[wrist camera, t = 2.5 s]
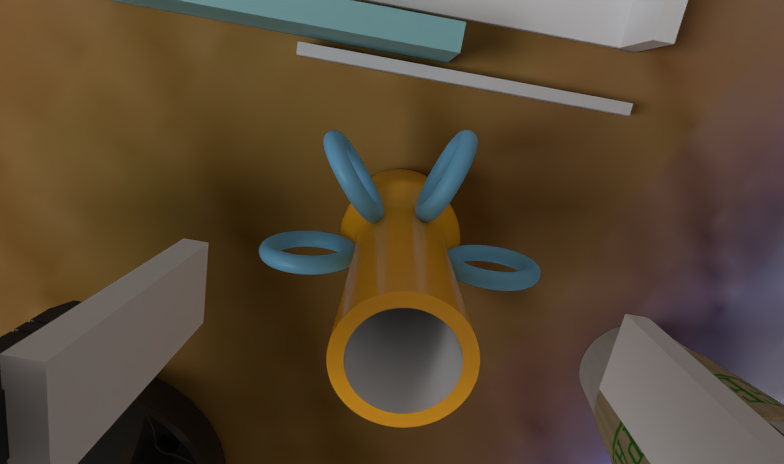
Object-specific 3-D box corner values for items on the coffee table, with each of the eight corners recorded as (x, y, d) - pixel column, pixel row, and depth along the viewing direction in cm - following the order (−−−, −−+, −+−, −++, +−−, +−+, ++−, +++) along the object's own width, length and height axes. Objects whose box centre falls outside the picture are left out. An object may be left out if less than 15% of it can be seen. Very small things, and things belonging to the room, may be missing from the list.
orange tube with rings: (265, 169, 26) (94, 257, 11) (430, 76, 24) (481, 37, 10) (371, 342, 28) (345, 588, 14) (524, 267, 27) (671, 456, 13)
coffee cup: (663, 266, 27) (971, 455, 12) (734, 383, 29) (1067, 661, 15) (520, 352, 29) (647, 608, 14) (597, 458, 31) (776, 773, 16)
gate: (97, 6, 23) (-2, -26, 17) (97, -38, 23) (-6, -85, 17) (445, 70, 24) (461, 61, 18) (453, 30, 23) (472, 6, 18)
